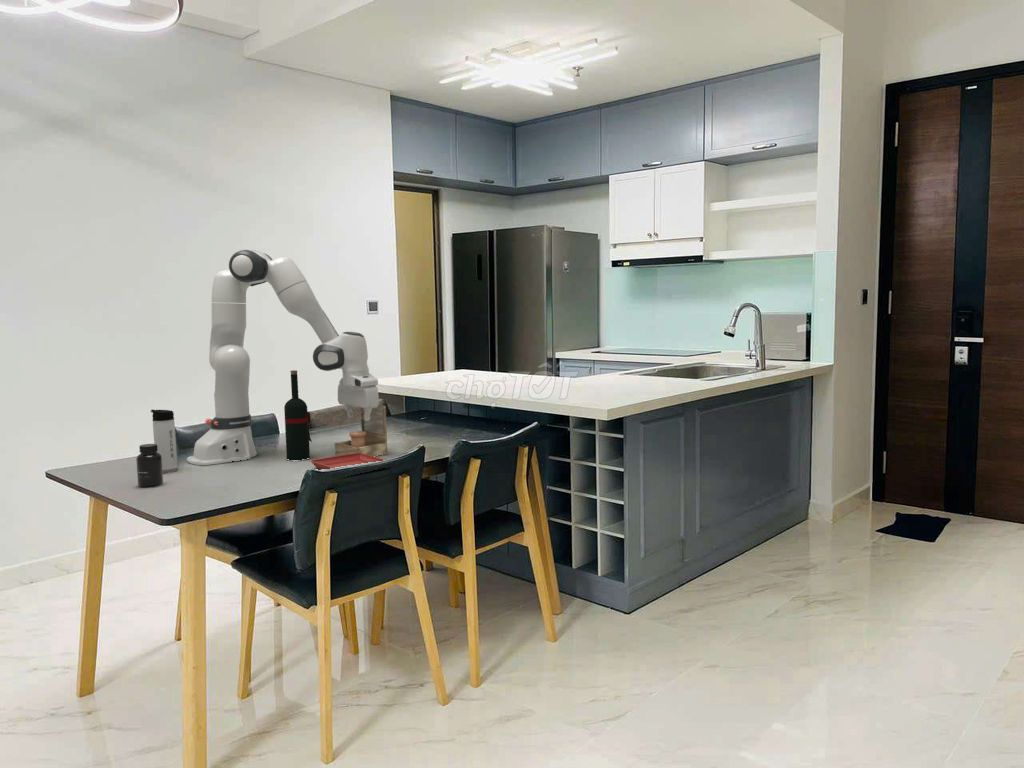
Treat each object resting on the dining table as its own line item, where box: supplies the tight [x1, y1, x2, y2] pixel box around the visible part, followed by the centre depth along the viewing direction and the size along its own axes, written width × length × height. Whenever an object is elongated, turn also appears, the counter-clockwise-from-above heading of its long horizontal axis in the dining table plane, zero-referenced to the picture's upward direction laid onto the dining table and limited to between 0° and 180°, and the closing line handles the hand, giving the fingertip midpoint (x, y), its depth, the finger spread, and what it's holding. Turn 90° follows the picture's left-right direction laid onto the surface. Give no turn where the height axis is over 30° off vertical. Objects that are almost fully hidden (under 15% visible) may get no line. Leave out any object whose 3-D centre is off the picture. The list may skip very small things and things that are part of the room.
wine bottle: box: [284, 370, 313, 460], centre depth 259 cm, size 8×10×30 cm
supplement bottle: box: [136, 443, 164, 488], centre depth 226 cm, size 7×7×12 cm
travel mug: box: [150, 409, 179, 474], centre depth 243 cm, size 6×7×20 cm
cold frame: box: [334, 404, 388, 457], centre depth 264 cm, size 12×14×17 cm
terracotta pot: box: [348, 430, 367, 448], centre depth 263 cm, size 6×6×8 cm
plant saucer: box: [310, 453, 385, 470], centre depth 243 cm, size 18×18×3 cm
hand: (358, 419), depth 263 cm, fingers open, 8 cm apart
